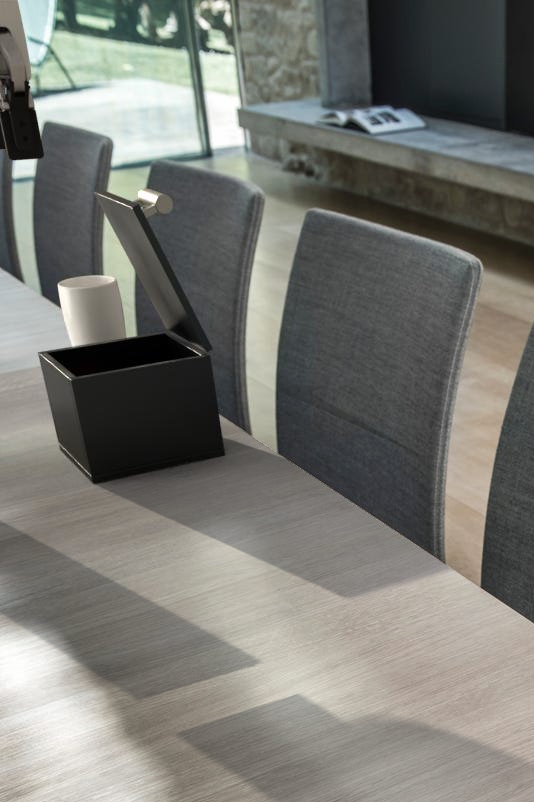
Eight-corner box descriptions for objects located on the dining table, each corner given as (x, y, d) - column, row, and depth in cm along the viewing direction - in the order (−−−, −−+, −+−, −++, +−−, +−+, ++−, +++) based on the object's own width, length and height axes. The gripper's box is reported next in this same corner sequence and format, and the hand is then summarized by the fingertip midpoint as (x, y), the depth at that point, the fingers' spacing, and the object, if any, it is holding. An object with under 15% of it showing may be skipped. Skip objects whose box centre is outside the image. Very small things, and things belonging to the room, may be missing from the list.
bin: (93, 483, 119) (70, 379, 114) (60, 450, 128) (37, 352, 123) (225, 455, 126) (210, 355, 120) (185, 424, 135) (169, 330, 129)
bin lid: (131, 207, 109) (174, 184, 111) (93, 192, 119) (133, 170, 120) (206, 352, 120) (245, 330, 121) (165, 328, 129) (201, 307, 130)
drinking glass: (111, 398, 144) (86, 273, 136) (152, 405, 141) (129, 277, 133) (71, 414, 139) (43, 285, 131) (114, 421, 136) (88, 290, 128)
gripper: (-93, -59, 105) (-46, 148, 115) (-56, -66, 93) (-6, 166, 102) (-9, -59, 109) (31, 142, 118) (38, -65, 96) (78, 160, 106)
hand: (13, 153), depth 110 cm, fingers open, 9 cm apart
